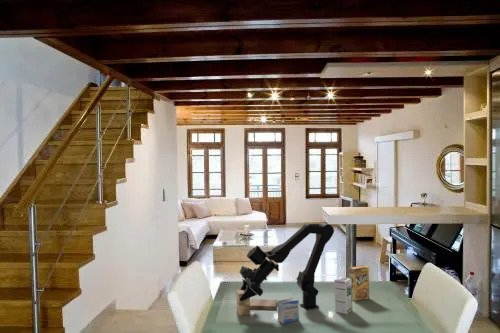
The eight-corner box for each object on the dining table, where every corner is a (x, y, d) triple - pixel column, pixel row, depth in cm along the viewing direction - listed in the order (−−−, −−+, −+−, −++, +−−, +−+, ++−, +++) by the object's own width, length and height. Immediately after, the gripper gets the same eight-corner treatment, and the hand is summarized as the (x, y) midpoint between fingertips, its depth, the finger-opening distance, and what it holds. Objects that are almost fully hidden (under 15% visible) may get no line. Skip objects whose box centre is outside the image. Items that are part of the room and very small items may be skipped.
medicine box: (283, 324, 180) (282, 303, 180) (277, 320, 184) (277, 300, 184) (299, 320, 184) (298, 300, 183) (293, 317, 188) (293, 297, 187)
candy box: (354, 301, 206) (354, 269, 206) (349, 298, 210) (348, 266, 210) (369, 298, 210) (369, 266, 209) (364, 296, 214) (363, 264, 213)
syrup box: (347, 314, 190) (346, 281, 189) (334, 311, 193) (334, 279, 193) (352, 310, 194) (352, 278, 194) (340, 308, 198) (339, 276, 197)
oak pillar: (247, 310, 197) (247, 289, 196) (250, 314, 192) (249, 292, 191) (236, 311, 196) (236, 290, 195) (238, 315, 191) (238, 293, 190)
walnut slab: (277, 304, 206) (277, 299, 206) (275, 310, 197) (275, 306, 197) (251, 303, 208) (251, 299, 208) (249, 309, 199) (249, 305, 199)
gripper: (245, 255, 203) (222, 280, 201) (255, 265, 185) (229, 293, 183) (262, 270, 205) (239, 296, 203) (273, 282, 187) (248, 310, 184)
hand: (239, 298), depth 193 cm, fingers closed on oak pillar, 5 cm apart
